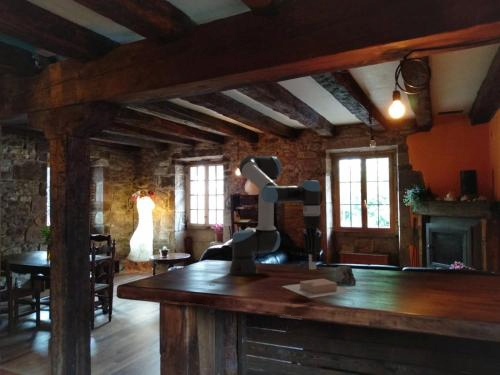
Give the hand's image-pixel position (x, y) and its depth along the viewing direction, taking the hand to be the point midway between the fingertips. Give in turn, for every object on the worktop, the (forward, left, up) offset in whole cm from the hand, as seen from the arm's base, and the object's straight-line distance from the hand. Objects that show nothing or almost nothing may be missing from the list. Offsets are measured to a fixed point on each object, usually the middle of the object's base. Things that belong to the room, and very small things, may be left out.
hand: (312, 268), depth 161 cm
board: (+2, 0, -9) cm, 10 cm away
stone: (-2, +19, -10) cm, 21 cm away
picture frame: (-1, 0, -7) cm, 7 cm away
